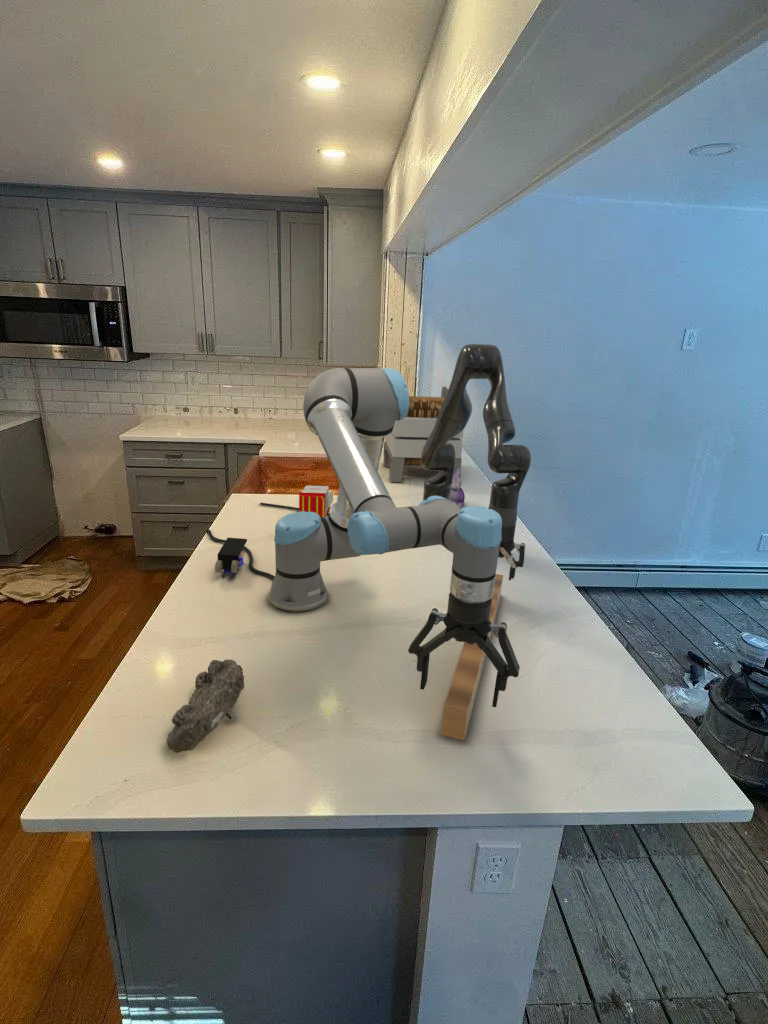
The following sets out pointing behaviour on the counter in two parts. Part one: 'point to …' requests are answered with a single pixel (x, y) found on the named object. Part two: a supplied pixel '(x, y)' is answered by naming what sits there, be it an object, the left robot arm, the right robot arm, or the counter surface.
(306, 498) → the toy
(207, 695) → the fossil
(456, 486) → the figurine
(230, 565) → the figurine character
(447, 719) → the bar
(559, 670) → the counter surface
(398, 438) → the grey crate stand
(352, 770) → the counter surface
